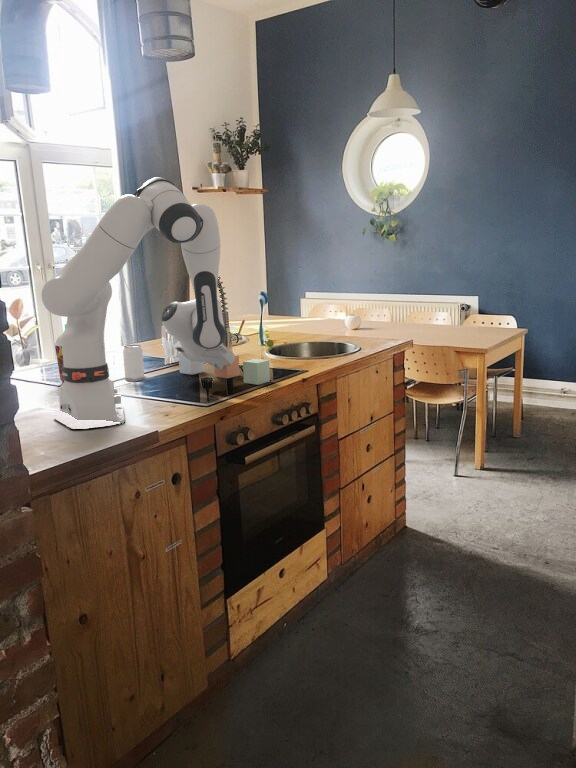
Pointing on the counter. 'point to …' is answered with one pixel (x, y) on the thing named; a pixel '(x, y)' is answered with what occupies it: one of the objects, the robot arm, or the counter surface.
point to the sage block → (256, 371)
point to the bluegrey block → (190, 366)
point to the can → (133, 362)
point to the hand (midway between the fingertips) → (219, 367)
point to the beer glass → (169, 347)
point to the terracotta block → (228, 369)
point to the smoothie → (59, 355)
